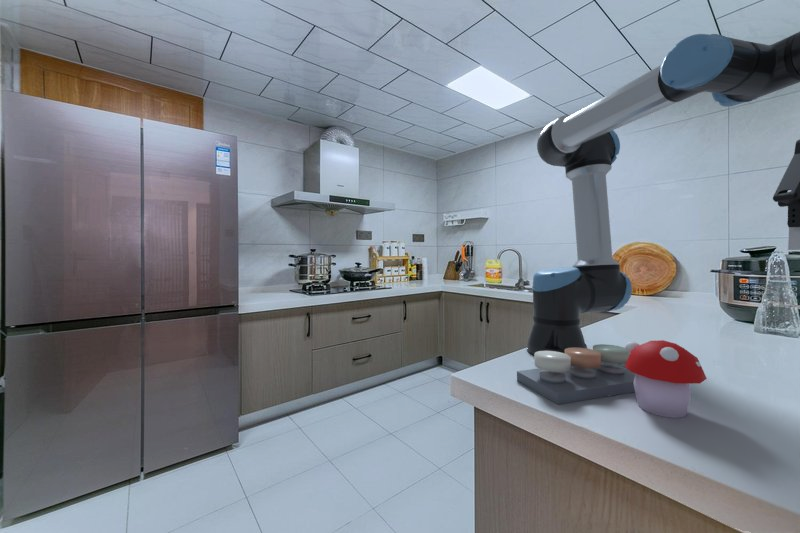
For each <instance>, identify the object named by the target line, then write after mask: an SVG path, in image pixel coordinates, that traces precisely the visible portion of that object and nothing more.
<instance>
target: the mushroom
mask: <svg viewBox="0 0 800 533" xmlns="http://www.w3.org/2000/svg"><path fill="white" fill-rule="evenodd" d="M624 348H626V350H627V351H628V352H629V353H630V355H629V357H628V359H627V362H626V364H624V366H625V367H626V369H628V370H629V371H630V372H633V373H636V375H635V378H634V382H633V383H634V388H635V392H634V393H635V397H636V402H637V406H638V407H639V408H641V409H642V410H643V411H646V412H647V413H650V414H652V415H653V414H654V415H656V416H660V417H665V418H671V419H673V418H675V419H679V418H680V419H681V418H684V417H686V415H687V413H688V408H689V406H690V400H691V396H692V392H691V391H692V390H691V387H690V384H696V385H698V384H702V383H703V382H704V381H705V380H707V377H706V373H705V371H704V370H703V367H702V365H701V363H700V360H699V358H698V357H697V356H695V354H694V353H691V352H690V351H688V350H687V349H686V348H684V347H683V346H680V345H679V344H677V343H674V342H671V341H667V340H664V339H662V340H649V341H647V342H644V343H642V344H639V343H638V342H636V341H629V342H626V344H625V347H624Z"/></svg>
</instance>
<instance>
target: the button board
mask: <svg viewBox="0 0 800 533" xmlns="http://www.w3.org/2000/svg"><path fill="white" fill-rule="evenodd" d="M635 375H636V373H633V372H630V371H629V370H628V369H627V368H625V367H624V366H623V365H622V364H614V363H607V362H603V361H601V366H600V367H596V368H585V367H578V366H574V365H571V369H570V370H569V371H566V372H551V371H546V370H542V369H539V368H533V369H523V370H517V371H516V382H517V381H518V382H519V383H520V384H522V385H524V386H526V387H528V388H529V389H531V390H533V391H534V392H536V393H538V394H539V395H541V396H543V397H544V398H546V399H548V400H550V401H551V402H553V403H554V404H556V405H563V404H569V403H575V402H580V401H587V400H592V399H599V398H605V397H611V396H616V395H622V394H623V395H624V394H629V393H633V392H634V393H635V388H634V383H633V382H634V378H635Z"/></svg>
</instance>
